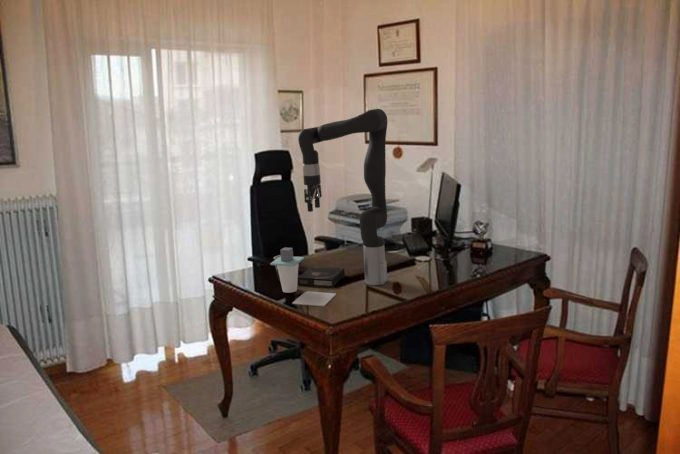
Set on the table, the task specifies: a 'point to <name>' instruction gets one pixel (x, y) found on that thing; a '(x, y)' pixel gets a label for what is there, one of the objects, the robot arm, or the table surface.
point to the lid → (287, 258)
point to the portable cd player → (321, 276)
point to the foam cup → (288, 277)
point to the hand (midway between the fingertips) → (314, 209)
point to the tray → (314, 298)
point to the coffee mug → (276, 265)
